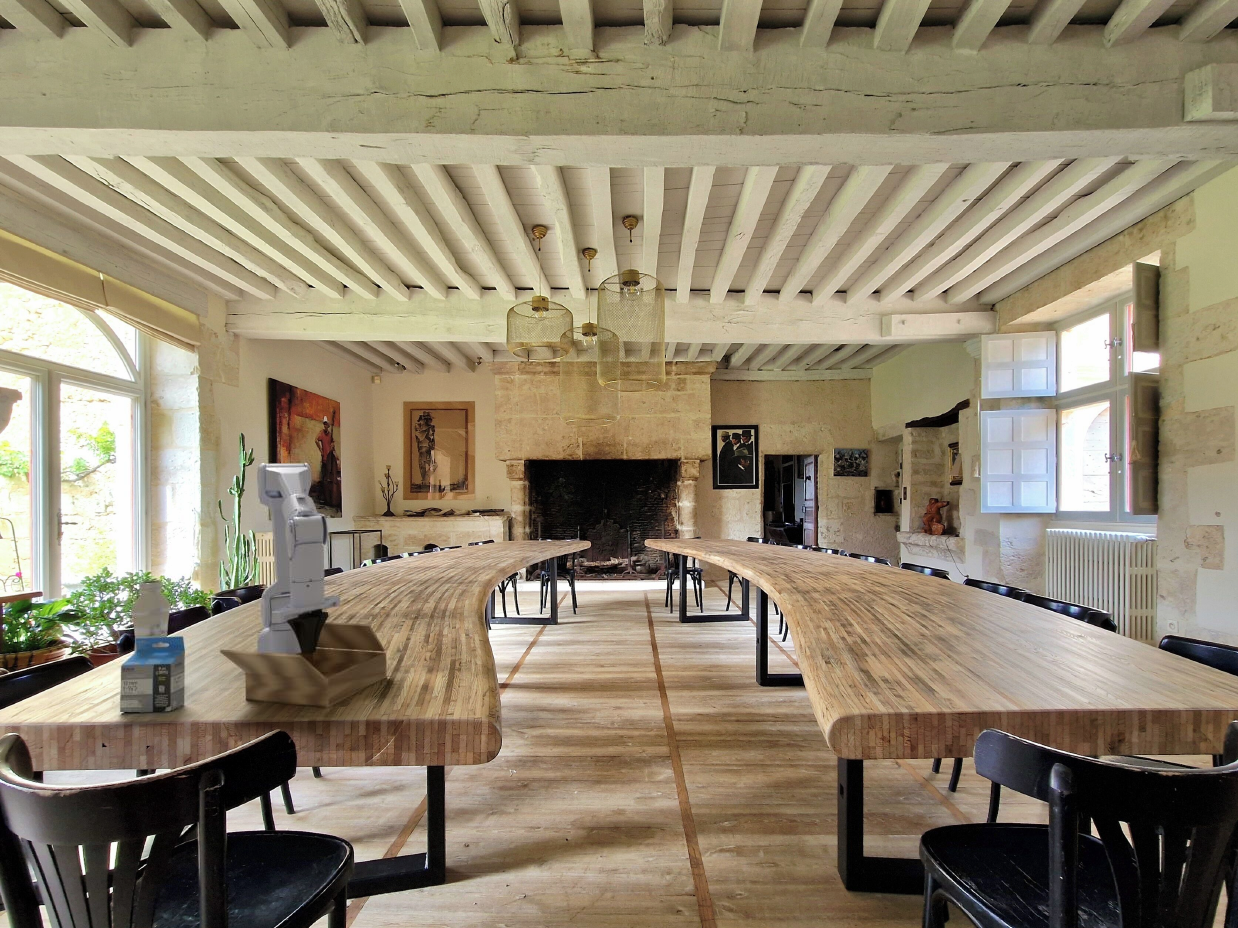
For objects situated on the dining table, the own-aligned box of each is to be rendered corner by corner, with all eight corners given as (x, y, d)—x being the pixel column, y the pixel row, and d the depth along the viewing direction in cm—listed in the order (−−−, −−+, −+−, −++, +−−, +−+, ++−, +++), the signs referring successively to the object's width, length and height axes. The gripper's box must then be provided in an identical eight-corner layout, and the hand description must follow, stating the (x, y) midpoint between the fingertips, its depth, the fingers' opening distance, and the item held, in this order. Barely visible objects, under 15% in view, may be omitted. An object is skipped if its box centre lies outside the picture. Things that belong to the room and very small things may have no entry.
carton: (245, 699, 109) (245, 672, 109) (313, 671, 124) (312, 647, 124) (327, 707, 104) (326, 678, 104) (386, 677, 119) (386, 652, 119)
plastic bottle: (132, 687, 117) (131, 586, 118) (130, 679, 122) (129, 582, 123) (173, 679, 122) (172, 581, 122) (169, 672, 127) (168, 578, 127)
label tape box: (118, 714, 104) (117, 643, 104) (136, 705, 108) (136, 637, 108) (170, 712, 104) (169, 641, 104) (186, 703, 108) (185, 635, 108)
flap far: (296, 622, 120) (297, 620, 120) (313, 647, 124) (314, 645, 124) (368, 625, 115) (369, 624, 116) (383, 651, 119) (384, 649, 120)
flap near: (248, 671, 109) (246, 673, 109) (220, 649, 104) (219, 651, 104) (325, 677, 104) (324, 679, 104) (301, 654, 99) (299, 657, 99)
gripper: (293, 587, 104) (294, 665, 104) (352, 574, 118) (353, 643, 118) (261, 586, 106) (262, 663, 106) (323, 573, 120) (324, 641, 120)
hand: (308, 652), depth 112 cm, fingers closed
